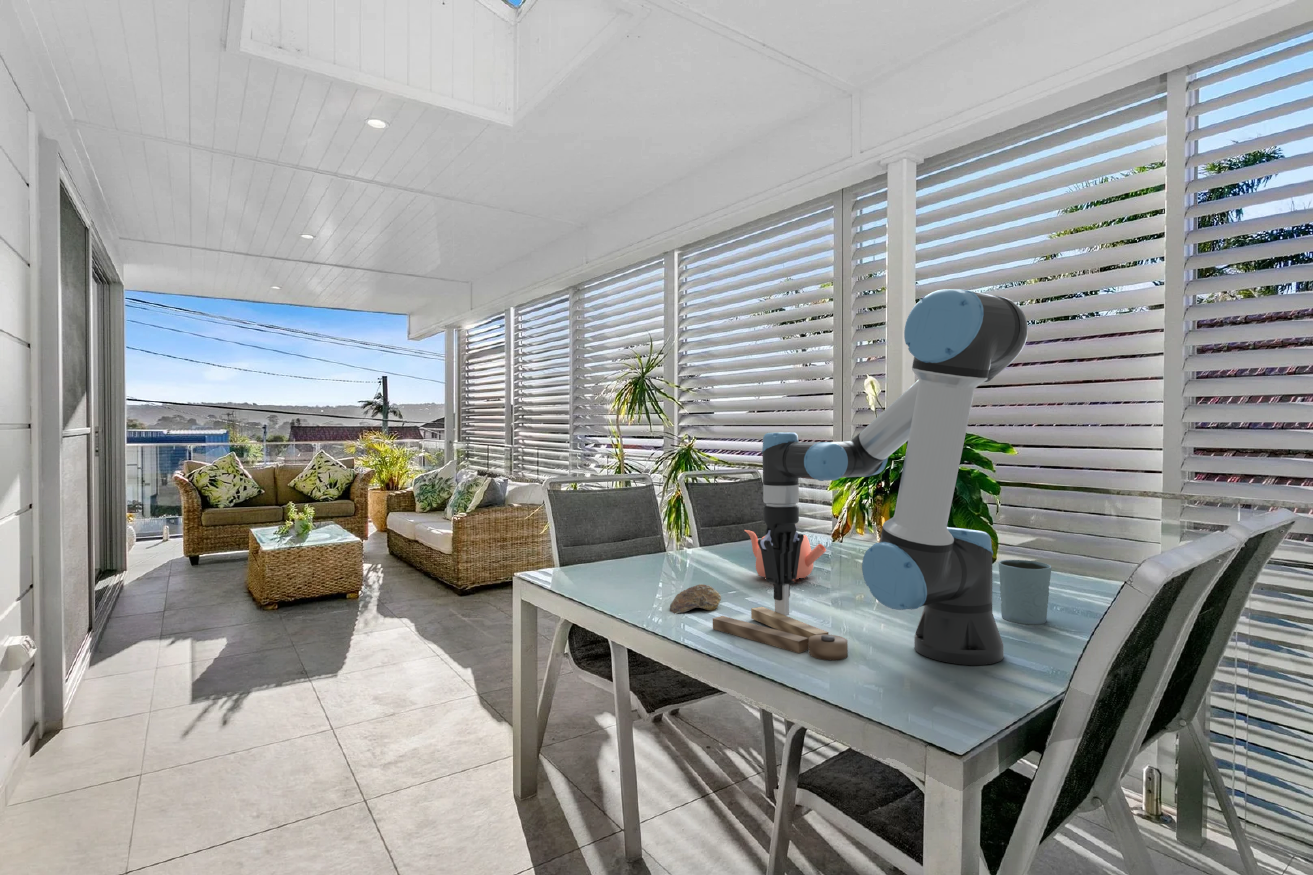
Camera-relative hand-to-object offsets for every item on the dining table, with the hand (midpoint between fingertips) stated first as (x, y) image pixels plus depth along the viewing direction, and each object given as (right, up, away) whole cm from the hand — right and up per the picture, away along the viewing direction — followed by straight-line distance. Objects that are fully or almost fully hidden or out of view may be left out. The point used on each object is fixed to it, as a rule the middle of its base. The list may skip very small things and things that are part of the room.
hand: (781, 614), depth 147 cm
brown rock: (-18, -3, +14) cm, 23 cm away
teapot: (+8, -2, +45) cm, 46 cm away
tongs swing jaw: (0, -2, -6) cm, 6 cm away
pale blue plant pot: (+53, -2, +1) cm, 53 cm away
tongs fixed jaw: (-3, -2, -12) cm, 12 cm away
